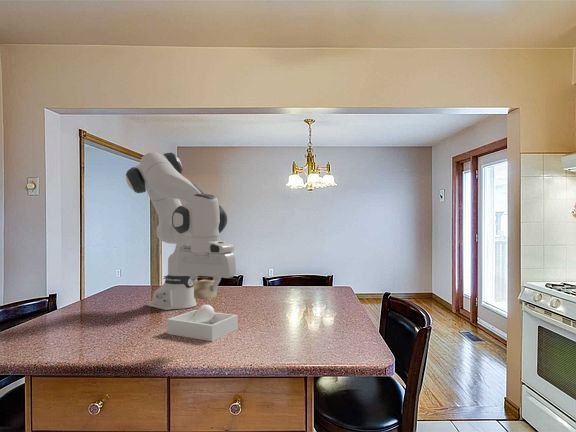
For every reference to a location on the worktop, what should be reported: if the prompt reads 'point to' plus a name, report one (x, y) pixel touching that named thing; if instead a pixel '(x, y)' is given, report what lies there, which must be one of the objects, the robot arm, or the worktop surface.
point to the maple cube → (204, 289)
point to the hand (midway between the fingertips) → (205, 290)
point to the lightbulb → (203, 314)
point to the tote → (202, 326)
